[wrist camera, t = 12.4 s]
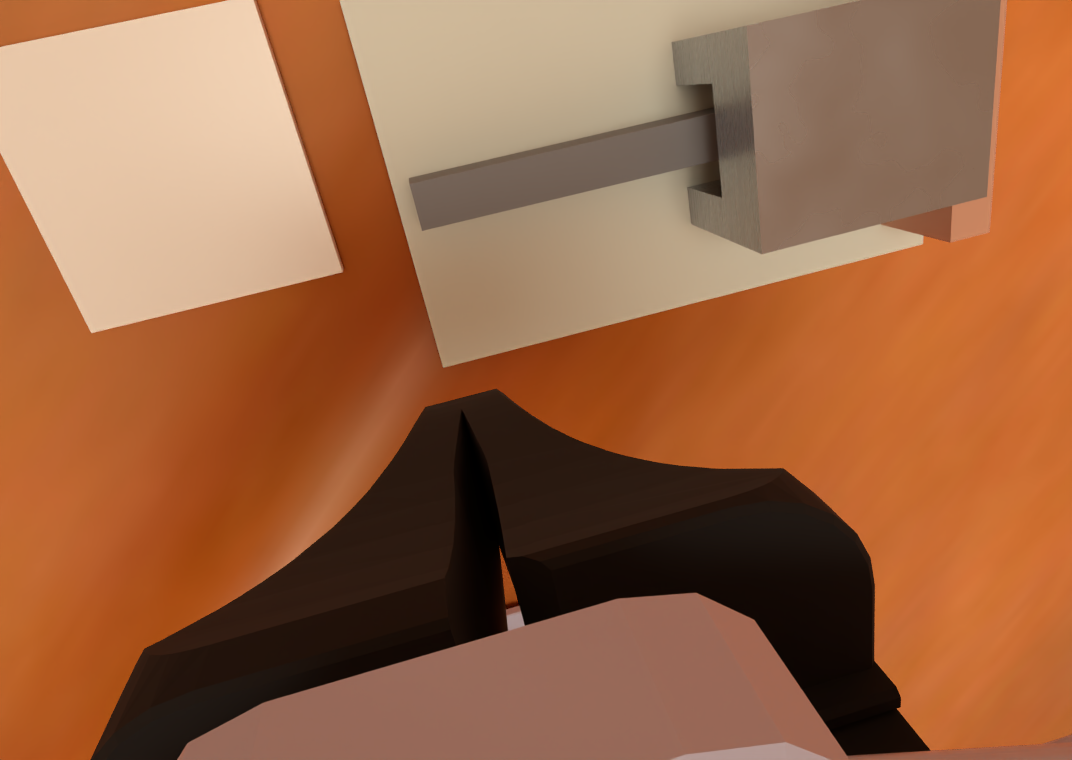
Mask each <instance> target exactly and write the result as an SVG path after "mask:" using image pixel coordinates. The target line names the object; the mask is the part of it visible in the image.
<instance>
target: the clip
mask: <svg viewBox="0 0 1072 760" xmlns="http://www.w3.org/2000/svg"><path fill="white" fill-rule="evenodd" d="M1000 5H1001V0H858V1H853V2H849V3H844V4H840V5H835V6H831V7H826V8H822V9H817V10H813V11H809V12H804V13H800V14H795V15H791V16H786V17H782V18H777V19H773V20H768V21H764V22H759V23H755V24H750V25H746V26H742V27H737V28H733V29H728V30H724V31H719V32H715V33H710V34H706V35H701V36H697V37H692V38H688V39H683V40H679V41H675V42H671V43H672V52H673V61H674V70H675V80H676V86H678V85H696V84H712V87H713V99H714V110H715V121H716V133H717V144H718V155H719V167H720V178H721V179H719V180H715V181H711V182H707V183H703V184H699V185H695V186H691V187H687V190H688V200H689V209H690V218H691V224H692V225H694V226H697V227H699V228H701V229H704V230H706V231H708V232H711V233H713V234H715V235H718V236H720V237H722V238H725V239H727V240H729V241H732V242H734V243H736V244H739V245H741V246H743V247H746V248H748V249H750V250H753V251H755V252H758V253H760V254H765V253H769V252H773V251H777V250H781V249H785V248H789V247H792V246H796V245H800V244H804V243H808V242H812V241H816V240H820V239H824V238H828V237H832V236H836V235H839V234H843V233H847V232H851V231H855V230H859V229H863V228H867V227H871V226H875V225H879V224H883V223H886V222H890V221H894V220H898V219H902V218H906V217H910V216H914V215H918V214H922V213H926V212H930V211H933V210H937V209H941V208H945V207H949V206H953V205H957V204H961V203H965V202H969V201H973V200H977V199H980V198H984V197H987V189H988V175H989V161H990V147H991V133H992V118H993V104H994V90H995V76H996V62H997V48H998V33H999V19H1000Z"/></svg>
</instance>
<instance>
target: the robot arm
mask: <svg viewBox="0 0 1072 760" xmlns="http://www.w3.org/2000/svg"><path fill="white" fill-rule="evenodd" d="M499 546H500V549H501V552H502V555H503V558H504V560H505V563H506V566H507V569H508V571H509V574H510V577H511V580H512V583H513V585H514V588H515V592H516V595H517V599H518V603H519V606H516V607H513V608H509V609H506V606H505V596H504V586H503V577H502V568H501V558H500V549H499ZM874 612H875V584H874V578H873V571H872V565H871V558H870V556H869V554H868V553H867V551H866V549H865V547H864V545H863V544H862V542H861V540H860V538H859V536H858V535H857V533H856V532H855V531H854V530H853V529H852V528H851V527H849V526H848V525H847V524H846V523H845V522H844V521H843V520H842V519H841V518H840V517H839V516H838V515H837V514H836V513H835V512H834V511H833V510H832V509H831V508H830V507H829V506H828V505H827V504H826V503H824V502H823V501H822V500H821V499H820V498H819V497H818V496H817V495H816V494H815V493H814V492H812V491H811V490H810V489H809V488H807V487H806V486H805V485H804V484H802V483H801V482H800V481H799V480H797V479H796V478H795V477H794V476H792V475H791V474H790V473H788V472H787V471H786V470H785V469H783V468H777V469H711V468H700V467H688V466H678V465H671V464H663V463H657V462H652V461H647V460H642V459H637V458H633V457H628V456H624V455H620V454H616V453H613V452H609V451H606V450H603V449H601V448H598V447H595V446H592V445H589V444H586V443H583V442H581V441H579V440H576V439H574V438H572V437H569V436H567V435H565V434H563V433H561V432H559V431H557V430H555V429H553V428H551V427H550V426H548V425H547V424H545V423H543V422H542V421H540V420H539V419H537V418H535V417H534V416H532V415H531V414H529V413H528V412H526V411H525V410H524V409H522V408H521V407H520V406H518V405H517V404H516V403H514V402H513V401H512V400H510V399H509V398H508V397H507V396H506V395H505V394H504V393H502V392H500V391H499V390H497V389H494V390H490V391H486V392H482V393H478V394H474V395H471V396H467V397H463V398H459V399H455V400H451V401H448V402H444V403H440V404H436V405H432V406H428V407H425V409H424V410H423V412H422V413H421V415H420V416H419V418H418V420H417V421H416V423H415V425H414V426H413V428H412V430H411V431H410V433H409V435H408V436H407V438H406V440H405V441H404V443H403V445H402V446H401V448H400V449H399V451H398V452H397V454H396V455H395V457H394V458H393V460H392V461H391V462H390V464H389V465H388V466H387V468H386V469H385V470H384V472H383V473H382V474H381V475H380V477H379V478H378V479H377V481H376V482H375V483H374V485H373V486H372V487H371V488H370V490H369V491H368V492H367V493H366V494H365V495H364V496H363V498H362V499H361V500H360V501H359V502H358V503H357V504H356V505H355V506H354V507H353V508H352V509H351V510H350V511H349V512H348V513H347V514H346V515H345V516H344V517H343V518H342V519H341V520H340V521H339V522H338V523H337V524H336V525H335V526H334V527H333V528H332V529H331V530H329V531H328V532H327V533H326V534H324V535H323V536H322V537H321V538H320V539H318V540H317V541H316V542H315V543H314V544H312V545H311V546H310V547H309V548H307V549H306V550H305V551H304V552H303V553H301V554H300V555H299V556H298V557H296V558H295V559H294V560H293V561H291V562H290V563H289V564H287V565H286V566H285V567H283V568H282V569H280V570H279V571H278V572H276V573H275V574H273V575H272V576H270V577H269V578H268V579H266V580H265V581H263V582H262V583H260V584H259V585H257V586H255V587H254V588H252V589H251V590H249V591H248V592H246V593H245V594H243V595H242V596H240V597H238V598H237V599H235V600H233V601H232V602H230V603H228V604H227V605H225V606H223V607H222V608H220V609H218V610H217V611H215V612H213V613H211V614H209V615H207V616H206V617H204V618H202V619H200V620H198V621H196V622H194V623H193V624H191V625H189V626H187V627H185V628H183V629H182V630H180V631H178V632H176V633H174V634H172V635H171V636H169V637H167V638H165V639H163V640H161V641H159V642H157V643H155V644H153V645H151V646H149V647H147V648H145V649H144V650H143V652H142V654H141V656H140V658H139V660H138V661H137V663H136V665H135V667H134V670H133V672H132V674H131V676H130V678H129V680H128V682H127V684H126V686H125V688H124V690H123V692H122V694H121V696H120V698H119V701H118V703H117V705H116V707H115V709H114V711H113V713H112V715H111V718H110V720H109V722H108V724H107V726H106V728H105V730H104V732H103V735H102V737H101V739H100V741H99V743H98V745H97V747H96V749H95V752H94V754H93V756H92V758H91V760H1072V735H1068V736H1065V737H1062V738H1059V739H1056V740H1053V741H1050V742H1047V743H1044V744H1036V745H1019V746H1003V747H986V748H969V749H952V750H935V751H930V749H929V748H928V747H927V746H926V744H925V743H924V742H923V741H922V739H921V738H920V737H919V736H918V735H917V733H916V732H915V731H914V730H913V728H912V727H911V726H910V725H909V724H908V722H907V721H906V720H905V719H904V717H903V716H902V715H901V714H900V712H899V711H898V710H897V709H896V708H899V707H901V697H900V694H899V692H898V690H897V687H896V686H895V685H894V684H893V682H892V681H891V680H890V679H889V678H888V677H887V675H886V674H885V673H884V672H883V671H882V669H881V668H880V667H879V666H878V665H877V664H876V662H875V661H874Z"/></svg>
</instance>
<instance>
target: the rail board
mask: <svg viewBox="0 0 1072 760" xmlns="http://www.w3.org/2000/svg"><path fill="white" fill-rule="evenodd" d="M853 1H858V0H341V1H340V4H341V7H342V11H343V14H344V18H345V22H346V25H347V29H348V32H349V36H350V39H351V43H352V46H353V50H354V54H355V57H356V61H357V64H358V68H359V71H360V75H361V78H362V82H363V85H364V89H365V93H366V96H367V100H368V103H369V107H370V110H371V114H372V117H373V121H374V124H375V128H376V132H377V135H378V139H379V142H380V146H381V149H382V153H383V156H384V160H385V163H386V167H387V171H388V174H389V178H390V181H391V185H392V188H393V192H394V195H395V199H396V203H397V206H398V210H399V213H400V217H401V220H402V224H403V227H404V231H405V234H406V238H407V242H408V245H409V249H410V252H411V256H412V259H413V263H414V266H415V270H416V273H417V277H418V281H419V284H420V288H421V291H422V295H423V298H424V302H425V305H426V309H427V312H428V316H429V320H430V323H431V327H432V330H433V334H434V337H435V341H436V344H437V348H438V352H439V355H440V359H441V362H442V366H443V368H444V367H448V366H452V365H456V364H460V363H464V362H468V361H472V360H476V359H479V358H483V357H487V356H491V355H495V354H499V353H503V352H507V351H510V350H514V349H518V348H522V347H526V346H530V345H534V344H538V343H541V342H545V341H549V340H553V339H557V338H561V337H565V336H569V335H572V334H576V333H580V332H584V331H588V330H592V329H596V328H600V327H603V326H607V325H611V324H615V323H619V322H623V321H627V320H631V319H635V318H638V317H642V316H646V315H650V314H654V313H658V312H662V311H666V310H669V309H673V308H677V307H681V306H685V305H689V304H693V303H697V302H700V301H704V300H708V299H712V298H716V297H720V296H724V295H728V294H731V293H735V292H739V291H743V290H747V289H751V288H755V287H759V286H763V285H766V284H770V283H774V282H778V281H782V280H786V279H790V278H794V277H797V276H801V275H805V274H809V273H813V272H817V271H821V270H825V269H828V268H832V267H836V266H840V265H844V264H848V263H852V262H856V261H859V260H863V259H867V258H871V257H875V256H879V255H883V254H887V253H890V252H894V251H898V250H902V249H906V248H910V247H914V246H918V245H922V244H923V236H927V237H931V238H935V239H939V240H943V241H946V242H950V243H951V242H954V241H958V240H962V239H966V238H970V237H974V236H978V235H981V234H985V233H989V232H990V221H991V208H992V194H993V181H994V168H995V154H996V141H997V128H998V114H999V101H1000V88H1001V75H1002V61H1003V48H1004V35H1005V21H1006V8H1007V0H1001V5H1000V19H999V33H998V48H997V62H996V76H995V90H994V104H993V118H992V133H991V147H990V161H989V175H988V189H987V197H984V198H980V199H977V200H973V201H969V202H965V203H961V204H957V205H953V206H949V207H945V208H941V209H937V210H933V211H930V212H926V213H922V214H918V215H914V216H910V217H906V218H902V219H898V220H894V221H890V222H886V223H883V224H879V225H875V226H871V227H867V228H863V229H859V230H855V231H851V232H847V233H843V234H839V235H836V236H832V237H828V238H824V239H820V240H816V241H812V242H808V243H804V244H800V245H796V246H792V247H789V248H785V249H781V250H777V251H773V252H769V253H765V254H760V253H758V252H755V251H753V250H750V249H748V248H746V247H743V246H741V245H739V244H736V243H734V242H732V241H729V240H727V239H725V238H722V237H720V236H718V235H715V234H713V233H711V232H708V231H706V230H704V229H701V228H699V227H697V226H694V225H692V224H691V218H690V209H689V200H688V190H687V187H691V186H695V185H699V184H703V183H707V182H711V181H715V180H719V179H721V178H720V167H719V155H718V144H717V133H716V121H715V110H714V99H713V87H712V84H696V85H678V86H676V80H675V70H674V61H673V52H672V43H671V42H675V41H679V40H683V39H688V38H692V37H697V36H701V35H706V34H710V33H715V32H719V31H724V30H728V29H733V28H737V27H742V26H746V25H750V24H755V23H759V22H764V21H768V20H773V19H777V18H782V17H786V16H791V15H795V14H800V13H804V12H809V11H813V10H817V9H822V8H826V7H831V6H835V5H840V4H844V3H849V2H853Z"/></svg>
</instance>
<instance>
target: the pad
mask: <svg viewBox="0 0 1072 760" xmlns="http://www.w3.org/2000/svg"><path fill="white" fill-rule="evenodd" d="M0 153H1V155H2V157H3V159H4V161H5V163H6V165H7V167H8V169H9V171H10V173H11V175H12V177H13V179H14V181H15V183H16V185H17V187H18V189H19V191H20V193H21V195H22V197H23V199H24V201H25V203H26V205H27V207H28V209H29V210H30V212H31V214H32V216H33V218H34V220H35V222H36V224H37V226H38V228H39V230H40V232H41V234H42V236H43V238H44V240H45V242H46V244H47V246H48V248H49V250H50V252H51V254H52V256H53V258H54V260H55V262H56V264H57V266H58V268H59V270H60V272H61V274H62V276H63V278H64V280H65V282H66V284H67V286H68V288H69V290H70V292H71V294H72V296H73V298H74V300H75V302H76V304H77V306H78V308H79V310H80V312H81V314H82V316H83V318H84V320H85V322H86V324H87V325H88V327H89V329H90V331H91V333H94V332H98V331H102V330H106V329H110V328H114V327H119V326H123V325H127V324H131V323H135V322H139V321H143V320H148V319H152V318H156V317H160V316H164V315H168V314H172V313H176V312H181V311H185V310H189V309H193V308H197V307H201V306H205V305H209V304H214V303H218V302H222V301H226V300H230V299H234V298H238V297H242V296H247V295H251V294H255V293H259V292H263V291H267V290H271V289H276V288H280V287H284V286H288V285H292V284H296V283H300V282H304V281H309V280H313V279H317V278H321V277H325V276H329V275H333V274H337V273H342V272H343V270H344V268H343V265H342V262H341V259H340V256H339V253H338V249H337V246H336V243H335V240H334V237H333V234H332V231H331V228H330V225H329V222H328V219H327V216H326V213H325V210H324V207H323V204H322V200H321V197H320V194H319V191H318V188H317V185H316V182H315V179H314V176H313V173H312V170H311V167H310V164H309V161H308V158H307V155H306V151H305V148H304V145H303V142H302V139H301V136H300V133H299V130H298V127H297V124H296V121H295V118H294V115H293V112H292V109H291V106H290V102H289V99H288V96H287V93H286V90H285V87H284V84H283V81H282V78H281V75H280V72H279V69H278V66H277V63H276V60H275V56H274V53H273V50H272V47H271V44H270V41H269V38H268V35H267V32H266V29H265V26H264V23H263V20H262V17H261V14H260V11H259V7H258V4H257V1H256V0H228V1H223V2H218V3H213V4H209V5H204V6H199V7H194V8H189V9H184V10H179V11H174V12H169V13H164V14H160V15H155V16H150V17H145V18H140V19H135V20H130V21H125V22H120V23H115V24H111V25H106V26H101V27H96V28H91V29H86V30H81V31H76V32H71V33H67V34H62V35H57V36H52V37H47V38H42V39H37V40H32V41H27V42H22V43H18V44H13V45H8V46H3V47H0Z"/></svg>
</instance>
